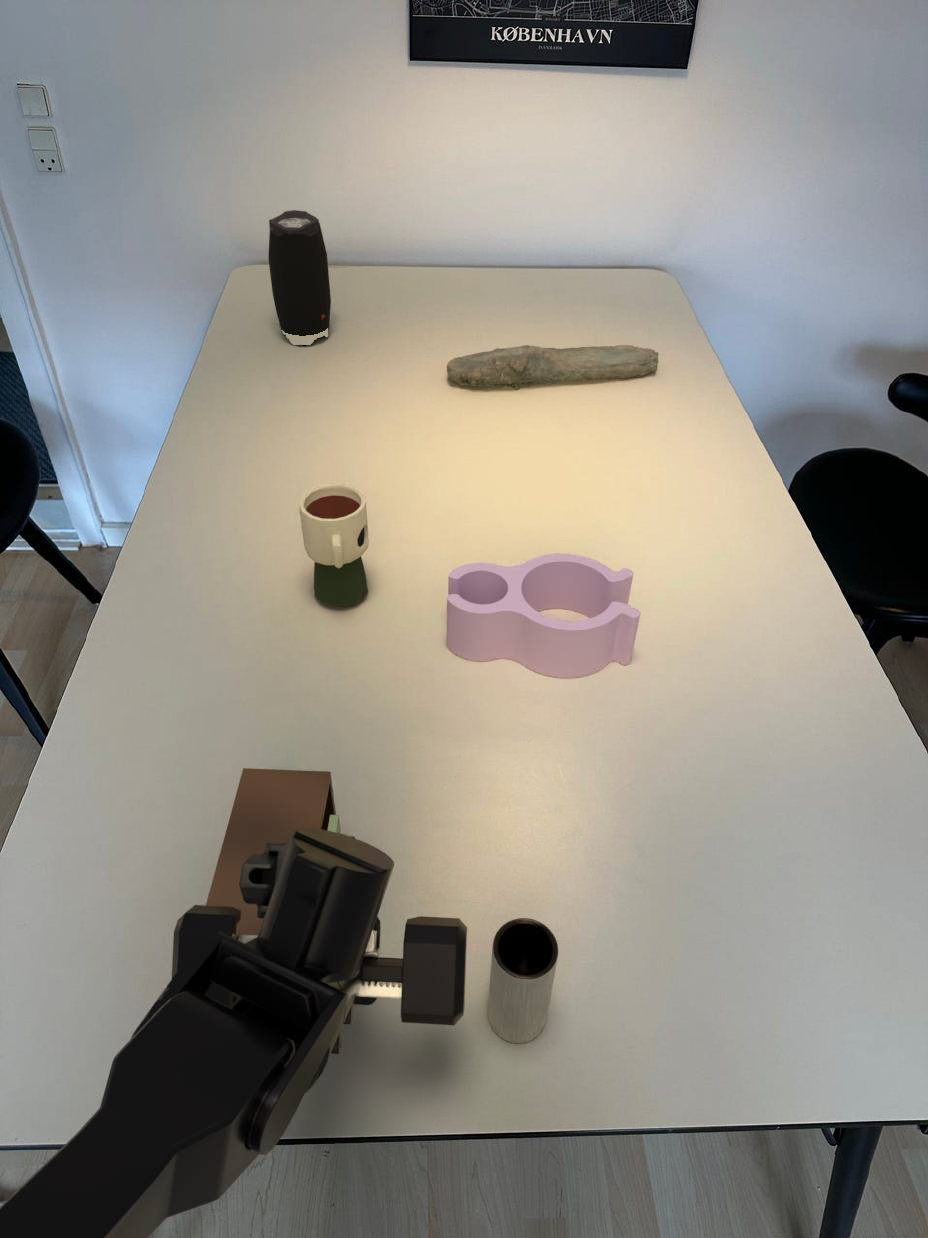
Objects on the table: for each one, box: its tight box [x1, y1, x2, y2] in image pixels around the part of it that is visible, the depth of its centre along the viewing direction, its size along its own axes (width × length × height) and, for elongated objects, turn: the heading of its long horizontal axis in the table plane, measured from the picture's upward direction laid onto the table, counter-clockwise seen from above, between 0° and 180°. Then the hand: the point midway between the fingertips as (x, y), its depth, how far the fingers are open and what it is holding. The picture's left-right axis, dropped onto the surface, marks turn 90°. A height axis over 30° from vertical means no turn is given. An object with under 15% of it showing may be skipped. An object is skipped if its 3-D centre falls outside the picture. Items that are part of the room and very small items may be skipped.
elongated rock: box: [446, 344, 660, 390], centre depth 144 cm, size 35×5×10 cm
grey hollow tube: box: [487, 917, 559, 1044], centre depth 65 cm, size 4×4×10 cm
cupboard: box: [205, 767, 356, 1001], centre depth 71 cm, size 15×9×10 cm, turn 178°
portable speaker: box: [267, 209, 332, 336], centre depth 148 cm, size 9×9×20 cm
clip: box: [446, 553, 641, 679], centre depth 98 cm, size 20×12×7 cm, turn 88°
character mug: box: [298, 483, 370, 607], centre depth 100 cm, size 11×7×13 cm, turn 9°
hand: (343, 925), depth 67 cm, fingers closed
